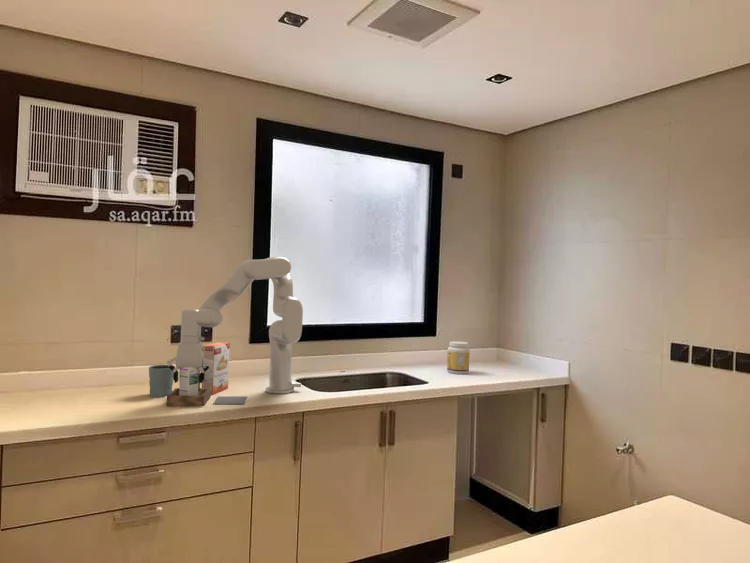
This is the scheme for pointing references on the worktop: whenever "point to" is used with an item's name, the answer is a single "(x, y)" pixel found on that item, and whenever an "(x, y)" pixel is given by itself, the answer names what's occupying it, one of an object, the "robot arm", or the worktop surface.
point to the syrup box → (189, 381)
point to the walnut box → (188, 398)
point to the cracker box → (216, 366)
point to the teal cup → (160, 380)
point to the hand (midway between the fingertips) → (188, 382)
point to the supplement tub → (458, 357)
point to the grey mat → (230, 400)
